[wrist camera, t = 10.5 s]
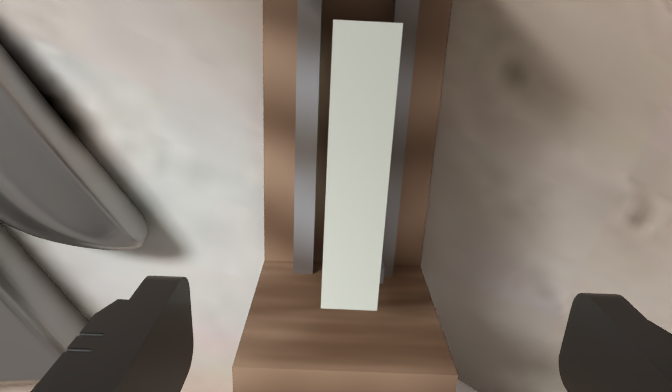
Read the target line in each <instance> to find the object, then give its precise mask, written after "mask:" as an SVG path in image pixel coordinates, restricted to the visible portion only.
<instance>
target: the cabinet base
mask: <svg viewBox="0 0 672 392" xmlns="http://www.w3.org/2000/svg"><path fill="white" fill-rule="evenodd" d="M451 6H452V0H263V91H264V235H265V261H264V264H263V268H262V271H261V274H260V277H259V281H258V284H257V287H256V291H255V294H254V297H253V300H252V304H251V307H250V310H249V314H248V317H247V320H246V324H245V327H244V330H243V333H242V337H241V340H240V343H239V347H238V350H237V353H236V357H235V360H234V363H233V366H232V372H233V392H456V386H457V380H458V373H457V370H456V368H455V365H454V362H453V359H452V356H451V353H450V350H449V348H448V345H447V342H446V339H445V336H444V333H443V330H442V328H441V325H440V322H439V319H438V316H437V313H436V310H435V308H434V305H433V302H432V299H431V296H430V293H429V290H428V288H427V285H426V282H425V279H424V276H423V273H422V270H421V267H420V264H421V256H422V248H423V239H424V231H425V223H426V214H427V206H428V198H429V189H430V181H431V173H432V164H433V156H434V148H435V139H436V131H437V123H438V114H439V106H440V98H441V90H442V81H443V73H444V65H445V56H446V48H447V40H448V31H449V23H450V15H451ZM333 20H351V21H371V22H390V23H403V31H402V41H401V52H400V63H399V74H398V85H397V96H396V107H395V118H394V129H393V140H392V151H391V162H390V173H389V184H388V195H387V206H386V217H385V228H384V239H383V250H382V258H383V263H384V279H383V284H381V283H379V294H378V305H377V311H372V310H348V309H324V308H321V290H322V267H323V244H324V221H325V198H326V175H327V152H328V129H329V106H330V83H331V60H332V37H333Z"/></svg>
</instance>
